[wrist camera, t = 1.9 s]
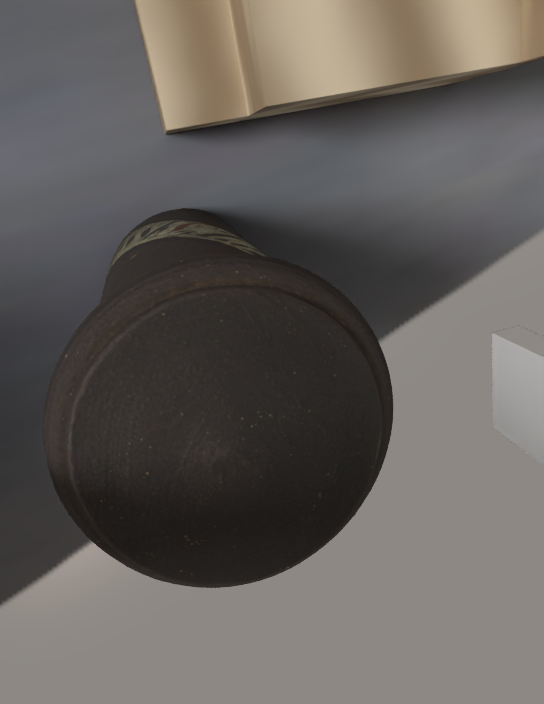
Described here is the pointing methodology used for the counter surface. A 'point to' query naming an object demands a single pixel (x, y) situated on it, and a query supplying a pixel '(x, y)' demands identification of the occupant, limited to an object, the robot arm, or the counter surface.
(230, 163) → the counter surface
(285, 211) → the counter surface
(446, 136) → the counter surface
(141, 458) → the container
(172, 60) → the stand
